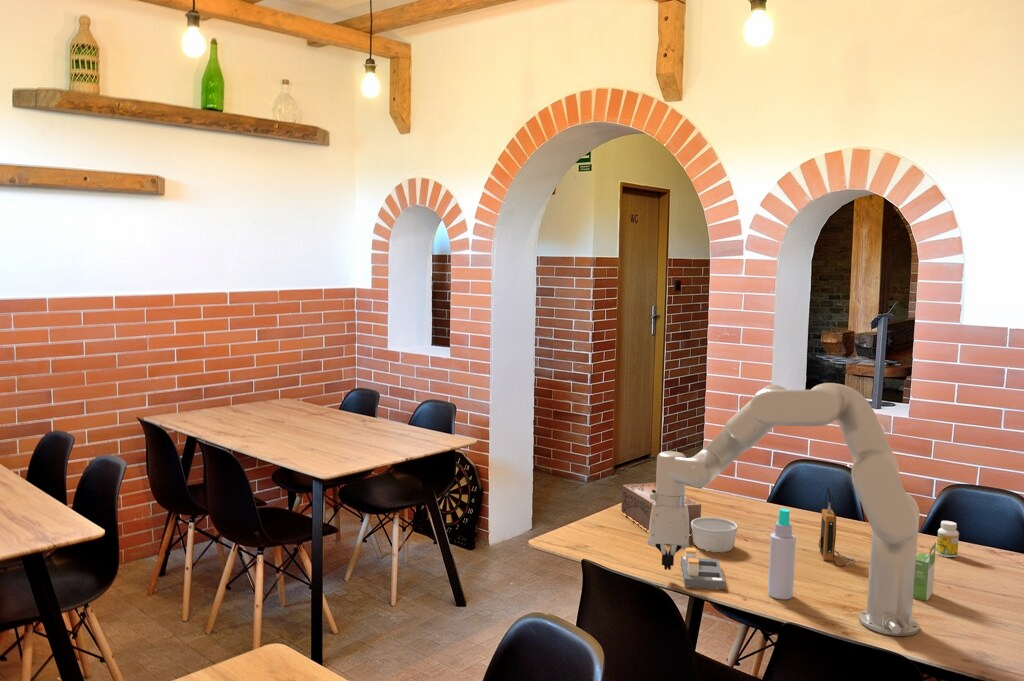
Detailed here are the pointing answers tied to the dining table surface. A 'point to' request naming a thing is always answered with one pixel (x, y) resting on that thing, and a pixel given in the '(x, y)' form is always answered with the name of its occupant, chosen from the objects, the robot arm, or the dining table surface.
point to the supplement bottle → (947, 539)
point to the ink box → (924, 575)
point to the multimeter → (829, 533)
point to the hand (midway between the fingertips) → (667, 567)
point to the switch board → (704, 574)
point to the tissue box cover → (649, 504)
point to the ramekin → (714, 533)
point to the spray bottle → (781, 558)
